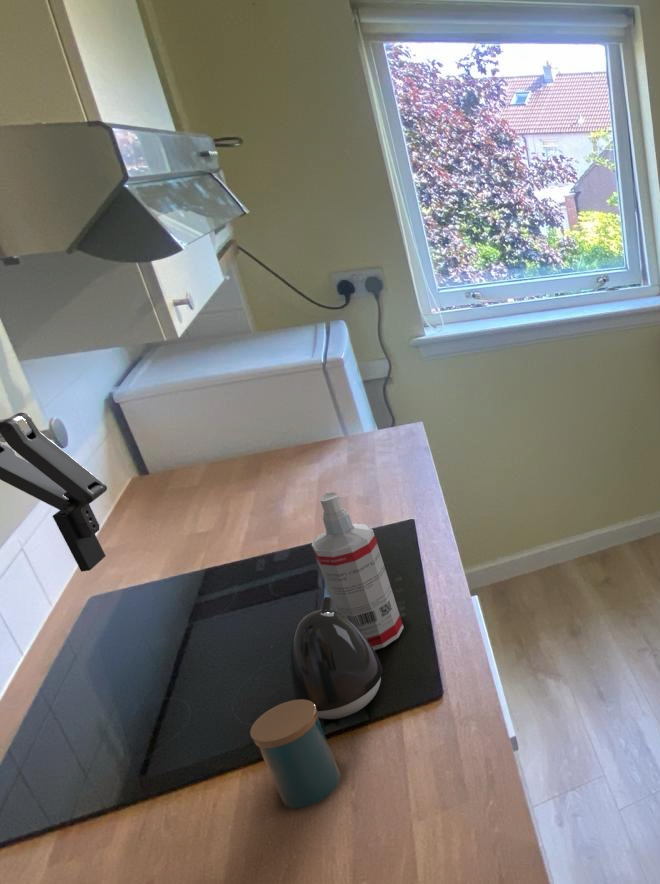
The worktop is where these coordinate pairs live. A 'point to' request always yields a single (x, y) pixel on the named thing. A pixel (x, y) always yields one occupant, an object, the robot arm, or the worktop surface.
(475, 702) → the worktop surface
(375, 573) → the white plastic bottle
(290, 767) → the canister
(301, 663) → the black egg-shaped gadget
